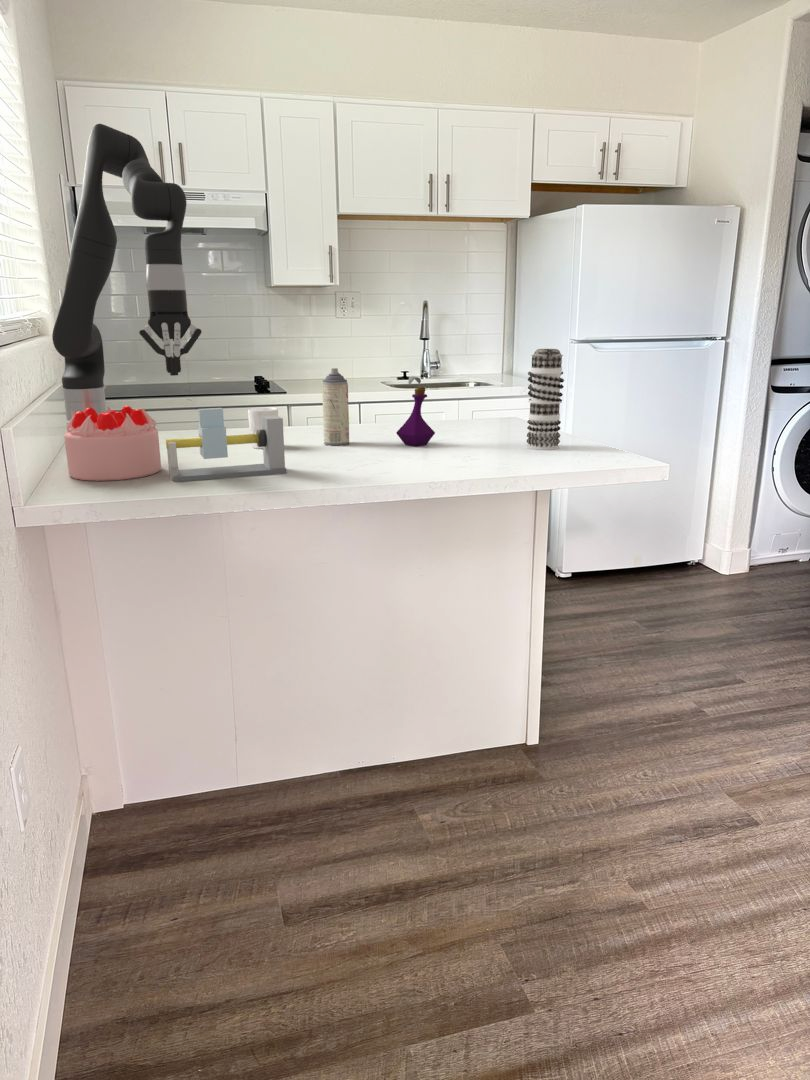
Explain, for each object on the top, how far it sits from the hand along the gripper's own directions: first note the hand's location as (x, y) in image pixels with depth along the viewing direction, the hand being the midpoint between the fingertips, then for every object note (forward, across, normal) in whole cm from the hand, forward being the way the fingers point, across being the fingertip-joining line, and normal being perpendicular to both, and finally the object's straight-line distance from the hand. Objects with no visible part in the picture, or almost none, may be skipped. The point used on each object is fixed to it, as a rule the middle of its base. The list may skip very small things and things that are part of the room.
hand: (174, 375), depth 166 cm
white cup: (+22, +25, +33) cm, 47 cm away
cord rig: (+22, +10, 0) cm, 24 cm away
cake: (+22, -13, +12) cm, 28 cm away
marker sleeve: (+18, +7, 0) cm, 19 cm away
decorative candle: (+22, +92, +3) cm, 95 cm away
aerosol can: (+22, +44, +30) cm, 58 cm away
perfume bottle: (+22, +63, +20) cm, 70 cm away
